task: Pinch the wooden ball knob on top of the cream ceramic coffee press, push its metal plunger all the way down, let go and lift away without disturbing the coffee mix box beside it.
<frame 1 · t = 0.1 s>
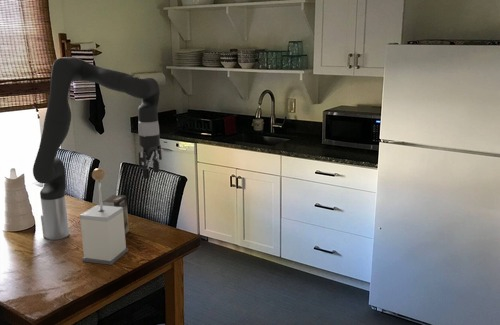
hand: (151, 175, 178), 29 cm above the table, tool pointing down, fingers open, 8 cm apart
plunger: (100, 195, 171), point 24 cm above the table, slide at 9.0 cm
press: (105, 255, 177), on the table
coffee box: (117, 235, 197), on the table
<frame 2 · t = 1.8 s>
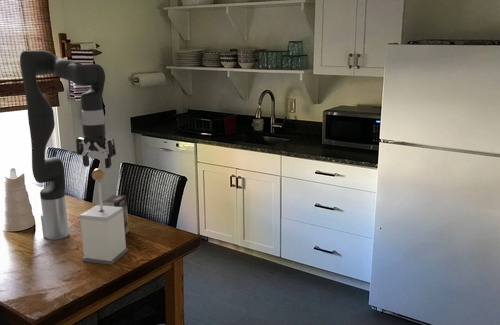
hand: (97, 167, 169), 35 cm above the table, tool pointing down, fingers open, 8 cm apart
nothing on the table moved.
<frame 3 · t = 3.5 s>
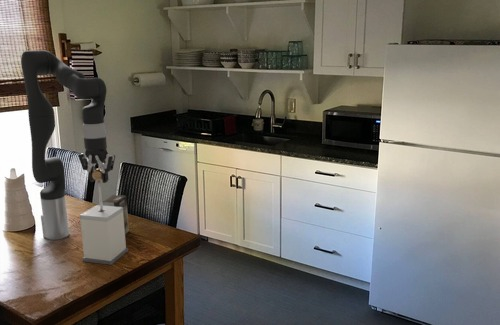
hand: (99, 181, 170), 29 cm above the table, tool pointing down, fingers closed on plunger, 4 cm apart
plunger: (100, 195, 171), point 24 cm above the table, slide at 9.0 cm, touching gripper
everything else where it was.
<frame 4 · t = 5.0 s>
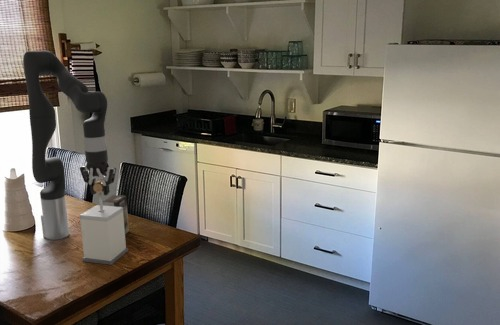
hand: (100, 194, 171), 25 cm above the table, tool pointing down, fingers closed on plunger, 4 cm apart
plunger: (101, 207, 173), point 19 cm above the table, slide at 4.2 cm, touching gripper
everything else where it was.
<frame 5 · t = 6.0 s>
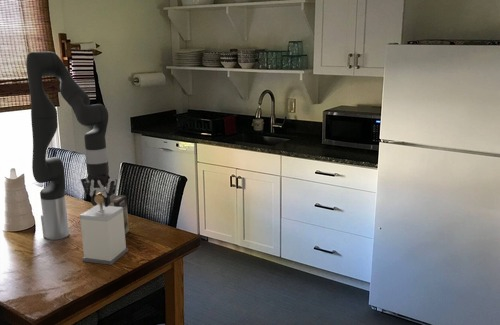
hand: (101, 205, 172), 20 cm above the table, tool pointing down, fingers closed on plunger, 4 cm apart
plunger: (102, 218, 174), point 15 cm above the table, slide at -0.1 cm, touching gripper
everything else where it was.
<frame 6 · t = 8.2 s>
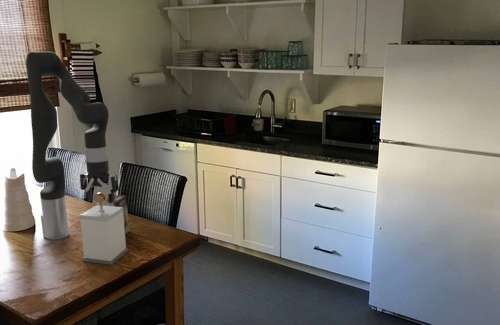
hand: (100, 201, 172), 22 cm above the table, tool pointing down, fingers open, 8 cm apart
plunger: (102, 218, 174), point 15 cm above the table, slide at 0.0 cm
everything else where it was.
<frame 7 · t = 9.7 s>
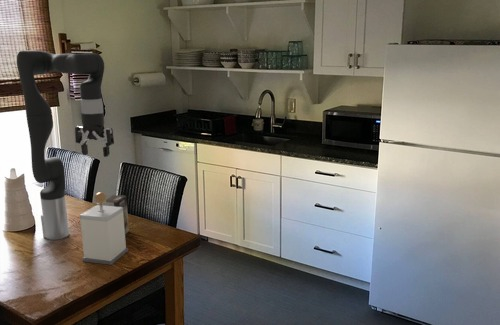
hand: (95, 155, 171), 38 cm above the table, tool pointing down, fingers open, 8 cm apart
nothing on the table moved.
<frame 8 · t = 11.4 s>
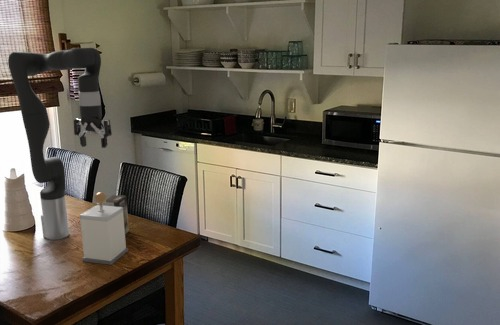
hand: (94, 146, 176), 40 cm above the table, tool pointing down, fingers open, 8 cm apart
nothing on the table moved.
at the end: plunger slide at 0.0 cm; the gripper is holding nothing; coffee box moved 0.2 cm from its start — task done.
